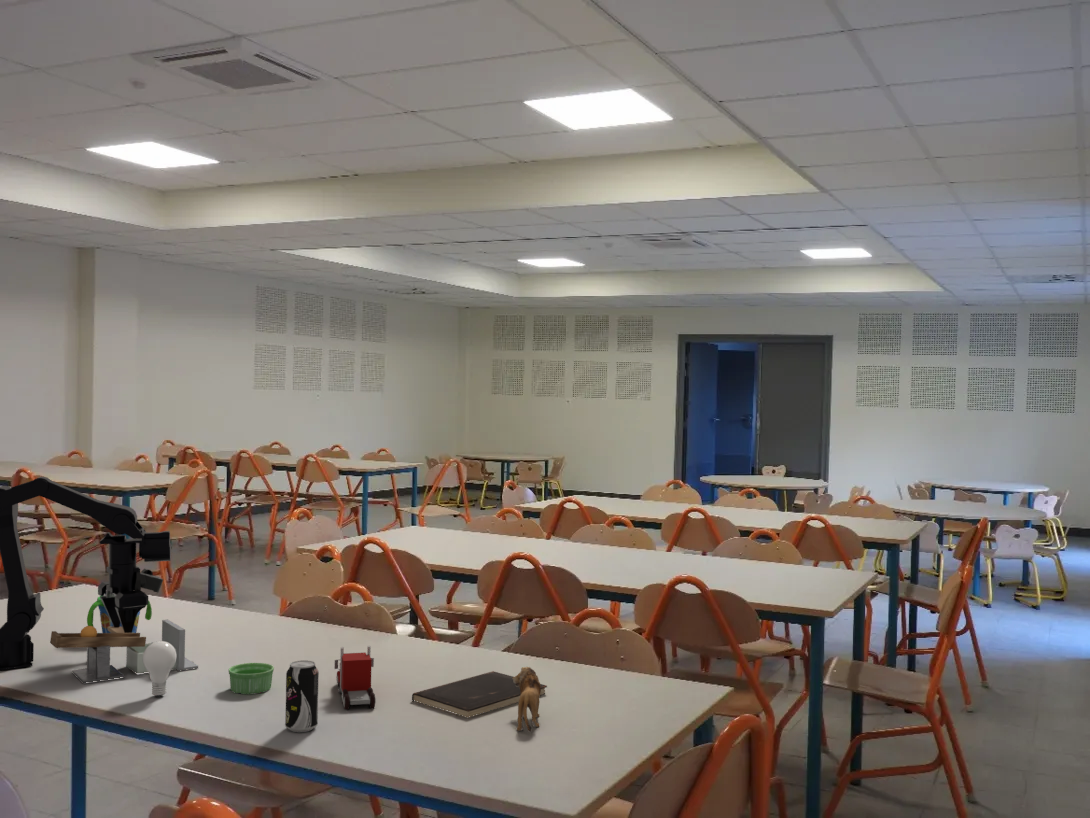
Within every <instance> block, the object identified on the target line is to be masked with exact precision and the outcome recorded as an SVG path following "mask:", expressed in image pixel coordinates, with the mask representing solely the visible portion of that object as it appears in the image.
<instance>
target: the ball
mask: <svg viewBox="0 0 1090 818" xmlns="http://www.w3.org/2000/svg"><path fill="white" fill-rule="evenodd" d="M93 626H94V625H93ZM93 626H88V625H86V626H84V627H82V628H81V631H80V633H81V634H80V635H81V637H96V636H97V633H98V631H97V628H95V626H94V627H93Z"/></svg>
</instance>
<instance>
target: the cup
mask: <svg viewBox="0 0 1090 818" xmlns="http://www.w3.org/2000/svg"><path fill="white" fill-rule="evenodd" d="M152 643H153V642H149V643H145V647H126V654H125V655H126V657H125V658H126V659H125V662H126V663H125V666H127V667H126V668H127V669H129V668H130V669H131V670H133V671H134V672H136V673H144V672H148V671H147V669H146V668H145V666H144V664H143V653H144V651H145V649H146V648H147V647H148V646H149V645H150V644H152ZM175 650H176V648H175ZM130 669H129V670H130ZM172 669H175V670H176V662H175V664H174V666H173V667H172ZM131 670H130V671H131ZM133 671H132V672H133ZM134 672H133V673H134Z"/></svg>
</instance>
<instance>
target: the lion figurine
mask: <svg viewBox="0 0 1090 818" xmlns="http://www.w3.org/2000/svg"><path fill="white" fill-rule="evenodd" d="M520 669H521V670H520V672H519V673H518V674H517V675H515V676H513V678H512V679H513V682H514V683H515V685H516V687H518V686H520V692H521V695H520V700H519V702H517V704H518V705H517V715H518V716H517V727H516V731H517V732H521V731H523V730H524V727H523V719H524V724H525V726H526V728H527V732H528V733H532V732H533V730H532V727H534V728H539V727H540V723H539V722H537V718H539V717H540V713H539V708H540V696H541V695H540V692H541V684H542V683H541V682H540V681H539V680H540V679H539V677H538V675H537V673H536V671H535V669H533V668H532V667H530V666H529V667H528V666H524V667H521V668H520ZM528 710H529V711H530V714H531V722H532V727H531V725H530V723H529V721H528Z"/></svg>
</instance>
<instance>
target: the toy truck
mask: <svg viewBox="0 0 1090 818" xmlns="http://www.w3.org/2000/svg"><path fill="white" fill-rule="evenodd" d="M344 648H345V647H344V646H341V647H340V659H334V670H337V672H336V684H337V690H338V693H339V694H341V701H342V704H343V709H344V710H345V711H349V709H350V706H353V705H355V706H357V705H369V709H372V708H373V709H374V708H375V707H376V703H377V702H376V699H377V698H376V694H375V693H374V690H373V688H372V668H374V665H375V661H374V660H375V658H374V657H371V645H367V653H366V652H349V653H347V652H346V653H345V652H344ZM339 661H340V662H339Z"/></svg>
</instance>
